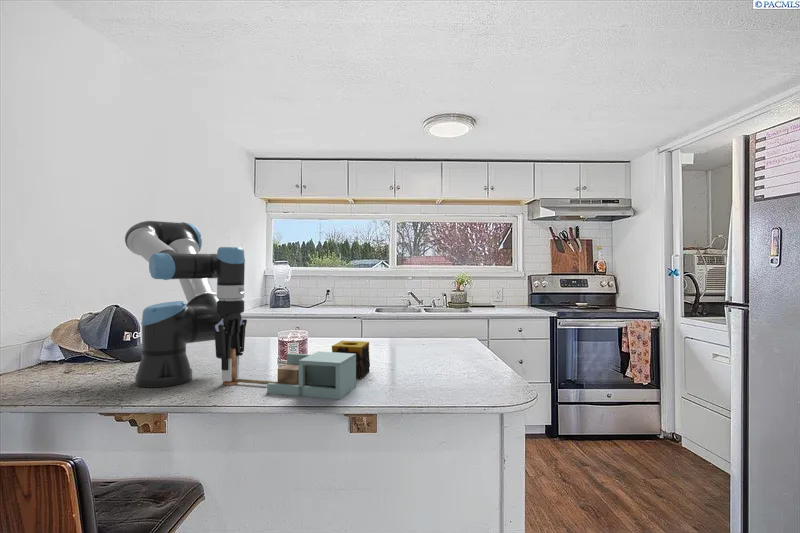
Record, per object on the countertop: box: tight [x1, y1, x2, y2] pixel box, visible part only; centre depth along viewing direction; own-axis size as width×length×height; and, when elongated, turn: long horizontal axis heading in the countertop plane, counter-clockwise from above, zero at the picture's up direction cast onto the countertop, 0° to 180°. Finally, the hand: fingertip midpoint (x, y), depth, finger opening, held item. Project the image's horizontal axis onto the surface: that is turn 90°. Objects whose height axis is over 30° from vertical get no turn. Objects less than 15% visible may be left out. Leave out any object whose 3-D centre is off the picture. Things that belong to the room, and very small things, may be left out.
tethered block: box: [222, 348, 308, 386], centre depth 130 cm, size 25×6×10 cm, turn 76°
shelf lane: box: [266, 351, 357, 400], centre depth 126 cm, size 21×12×10 cm, turn 76°
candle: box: [331, 340, 371, 380], centre depth 143 cm, size 10×10×10 cm
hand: (230, 379), depth 132 cm, fingers closed on tethered block, 3 cm apart
